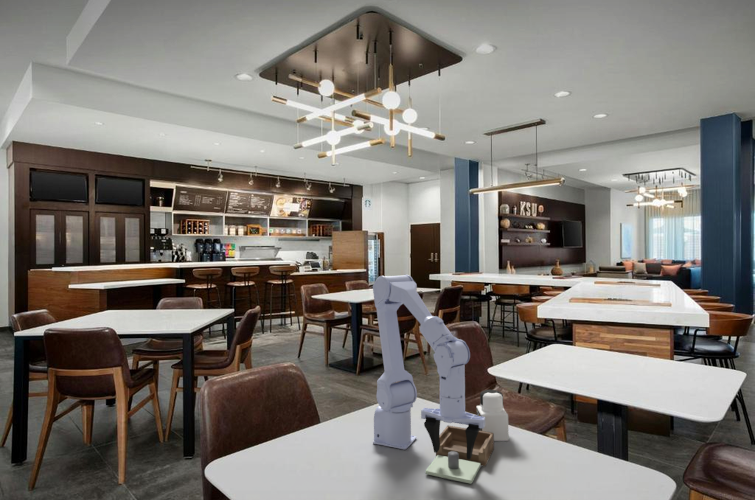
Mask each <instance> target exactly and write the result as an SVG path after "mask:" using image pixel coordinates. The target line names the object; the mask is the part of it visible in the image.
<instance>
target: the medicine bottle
mask: <svg viewBox="0 0 755 500" xmlns="http://www.w3.org/2000/svg"><path fill="white" fill-rule="evenodd" d="M479 397H480V398H479V400H480V402H479V405H476V415H477V416H481V417H485V427H484V429H482V428H480V430H479V431H485V432H491V433H494V442H509V437H510V436H509V435H510V434H509V413H508V412H507V411H506V409H505V408H504V394H503V393H502V392H501V391H499V390H496V389H485V390H482V391H481V392H480V395H479Z"/></svg>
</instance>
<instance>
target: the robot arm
mask: <svg viewBox="0 0 755 500" xmlns="http://www.w3.org/2000/svg"><path fill="white" fill-rule="evenodd" d="M417 289H418V286H417V283H416V281H415V280H414V279H413V277H412V276H411V275H409V274H402V275H385V276H384V275H380V276H378V277H377V278H376V279H375V281H374V283H373V285H372V292H373V300H374V307H375V308H376V315H377V323H378V330H379V338H380V339H379V340H380V347H381V353H382V363H383V368H384V369H383V370H384V372H383V373H382V375H380V377H379V378H378V379H377V381H376V384H377V385H376V386H377V387H376V396H375V397H376V401H377V404H378V406H377V407H376V408H375V411H374V415H373V441H372V444H375V445H379V446H385V447H389V448H390V447H391V448H395V449H400V450H407V449H408V448H409V447H410V445H412V444H413V443H414V441H415V440H417V436H416V435H413V434H412V418H411V417H412V412H411V410H412V408H413V407H414V406H413V405H414V403H415V402H416V401H417V398H418V390H417V387H416V385H415V383H414V378H413V375H412V373H409V371H407V370H406V369H405V366H404V365H405V364H404V357H403V349H402V343H401V334H400V326H399V321H398V314H397V311H398V310H399V308H400V307H401V306H402V305H404V306H405V307H406V308H407V310H408V311H409V312H410V313H411V314H412V316H413V317H414V318H415V319H416V320H417V322H418V323H419V324H420V325H419V332H420V333H421V335H422V336H423V337H424V339H425V340H426V342H427V343H428V345H429V346H430V347H431V349H432V350H433V352H434V353H433V360H434V363H435V364H436V368H437V369H436V372H437V373H438V374H437V375H439V408H428V407H423V408H422V409H420V415H421V416H420V417H421V418H420V419H423V420H425V421H424V422H423V423H424V424H423V426H424V428H425V429H426V432H427V434H428V436H429V438H430V440H431V443H432V447H433V452H434V453H435V454H436V453H437V452H438V451H439V449H440V437H439V435H440V430H441V429H440V428H441V421H442V422H444V423H448V424H453V423H454V424H460V425H465V426H467V427H465V428H466V430H465V433H466V440H467V459H471V457H472V452H473V447H474V443H475V440H476V437H477V435H478V432H479V430H480V428H482V429H484V427H485V417H481V416H477V414H473V413H470V412H467V411H466V377H465V376H466V373H465V371H466V370H465V369H466V367H465V365H467V364H468V363H469V361H470V358H471V352H470V348H469V346H468V344H467V342H466V341H465V340H463V339H461V338H460V339H459V338H457V336H454V335H453V333H452V332H451V331H450V330H449V328H448V327H447V326H446V325H445V323H444V320H443V318H440V317H439V316H437V315H435V316H434V315H432V313H431V311H429V308H428V307H427V305H426V304H425V302H424V301H423V299H422V298H421V296H420V295H419V293H418V291H417Z"/></svg>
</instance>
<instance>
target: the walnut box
mask: <svg viewBox="0 0 755 500" xmlns="http://www.w3.org/2000/svg"><path fill="white" fill-rule="evenodd" d="M466 428H467V427H460V426H455V425H454V426H453V425H449V424H448V425H446V427H445V428H444V429H443V431H442V432H441V433H439V437H440V449H439V451H438V452H437V453H435V457H436V456H437V455H441V456H446V457H448V452H451V451H454V452H457V453H458V454H459V459H462V460H467V461H472V462H477V463H481V466H482V467H486V466H487V464H488V461H489V459H490V458H491V455H492V453H493V451H494V450H495V441H494V433H491V432H485V431H479V432H478V435H477V437H476V440H475V443H474V447H473V452H472V457H471V459H467V440H466V433H465V430H466Z"/></svg>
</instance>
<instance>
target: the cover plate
mask: <svg viewBox="0 0 755 500" xmlns="http://www.w3.org/2000/svg"><path fill="white" fill-rule="evenodd" d="M480 468H481V463H477V462H472V461H467V460H462V459H459V454H458V453H457V452H454V451H451V452H448V457H446V456H441V455H437V456H436V455H435V458H433V460H432V462H431V463H430V464H429V466H428V467H427V468H426V470H425V474H426V475H430V476H433V477H439V478H441V477H442V479H444V478H447V479H452V480H456V481H455V482H461V483H466V484H470V485H472V483H473V482H474V480H475V478H476V477H477V474H478V472H479V471H480ZM447 479H446V480H447ZM452 480H451V481H452Z"/></svg>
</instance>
